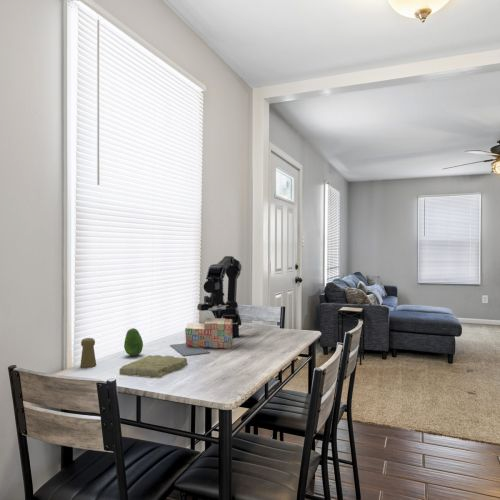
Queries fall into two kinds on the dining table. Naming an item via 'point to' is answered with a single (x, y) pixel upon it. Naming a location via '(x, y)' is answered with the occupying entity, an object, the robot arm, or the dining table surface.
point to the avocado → (133, 342)
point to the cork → (88, 353)
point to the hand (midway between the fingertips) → (218, 323)
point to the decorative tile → (153, 366)
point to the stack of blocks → (210, 333)
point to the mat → (188, 349)
